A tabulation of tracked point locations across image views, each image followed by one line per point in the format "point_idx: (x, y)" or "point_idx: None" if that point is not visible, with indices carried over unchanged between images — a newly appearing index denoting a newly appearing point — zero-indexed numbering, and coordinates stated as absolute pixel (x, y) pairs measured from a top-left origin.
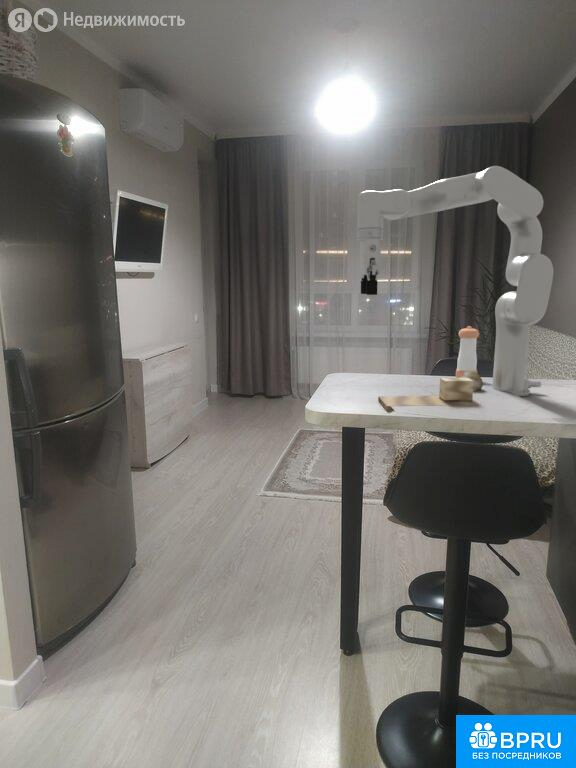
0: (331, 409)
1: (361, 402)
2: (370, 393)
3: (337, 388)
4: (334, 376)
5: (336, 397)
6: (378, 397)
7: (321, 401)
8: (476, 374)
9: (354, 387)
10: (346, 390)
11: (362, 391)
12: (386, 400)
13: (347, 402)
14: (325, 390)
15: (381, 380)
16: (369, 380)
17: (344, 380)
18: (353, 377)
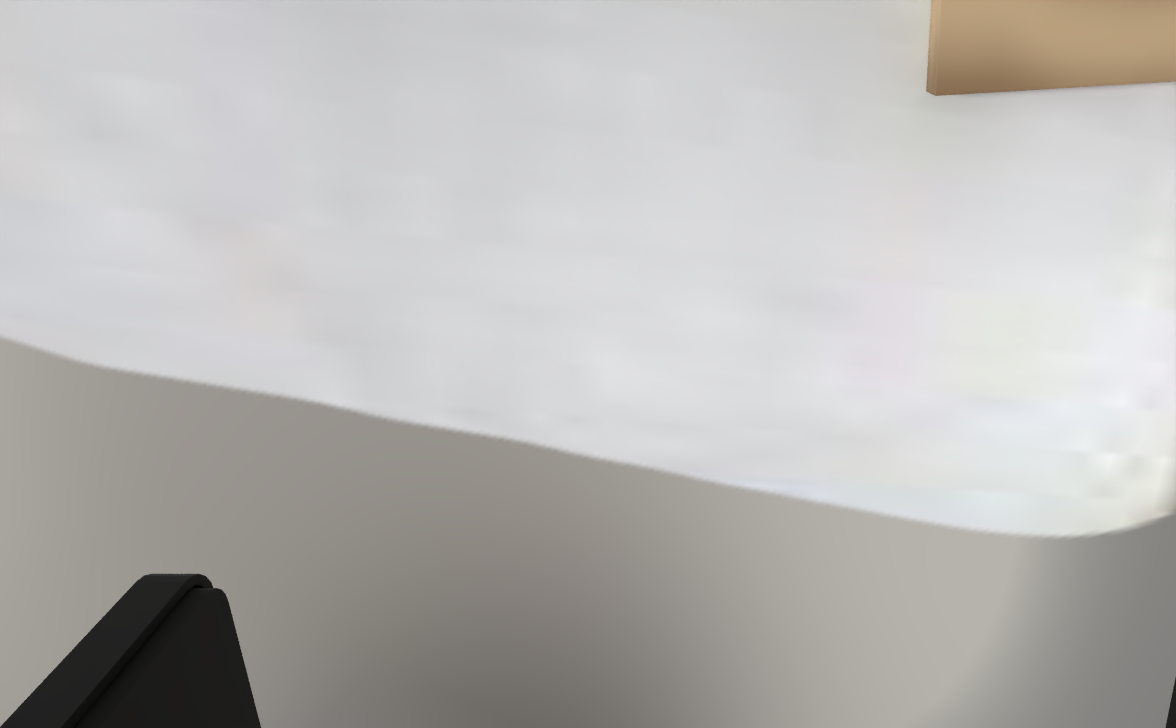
0: (1116, 433)
1: (944, 221)
2: (643, 117)
3: (469, 344)
4: (21, 330)
5: (768, 375)
6: (935, 94)
7: (881, 475)
8: None
9: (425, 218)
10: (537, 288)
11: (570, 172)
12: (1095, 50)
13: (931, 317)
14: (541, 429)
15: None
16: (127, 62)
17: (165, 269)
18: (27, 186)
